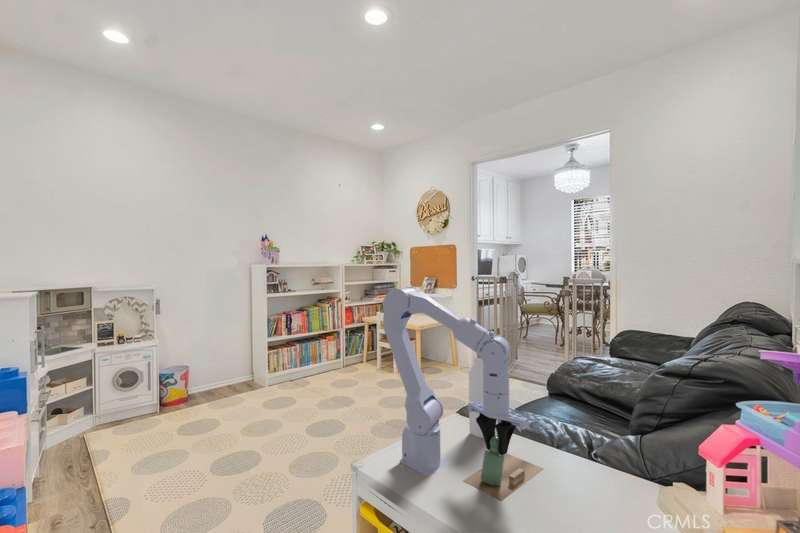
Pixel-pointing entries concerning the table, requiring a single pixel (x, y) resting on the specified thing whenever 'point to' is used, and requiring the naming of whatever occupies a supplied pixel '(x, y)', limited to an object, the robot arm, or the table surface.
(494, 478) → the bottle
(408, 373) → the robot arm
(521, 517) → the table surface
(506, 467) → the rest board
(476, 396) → the milk
